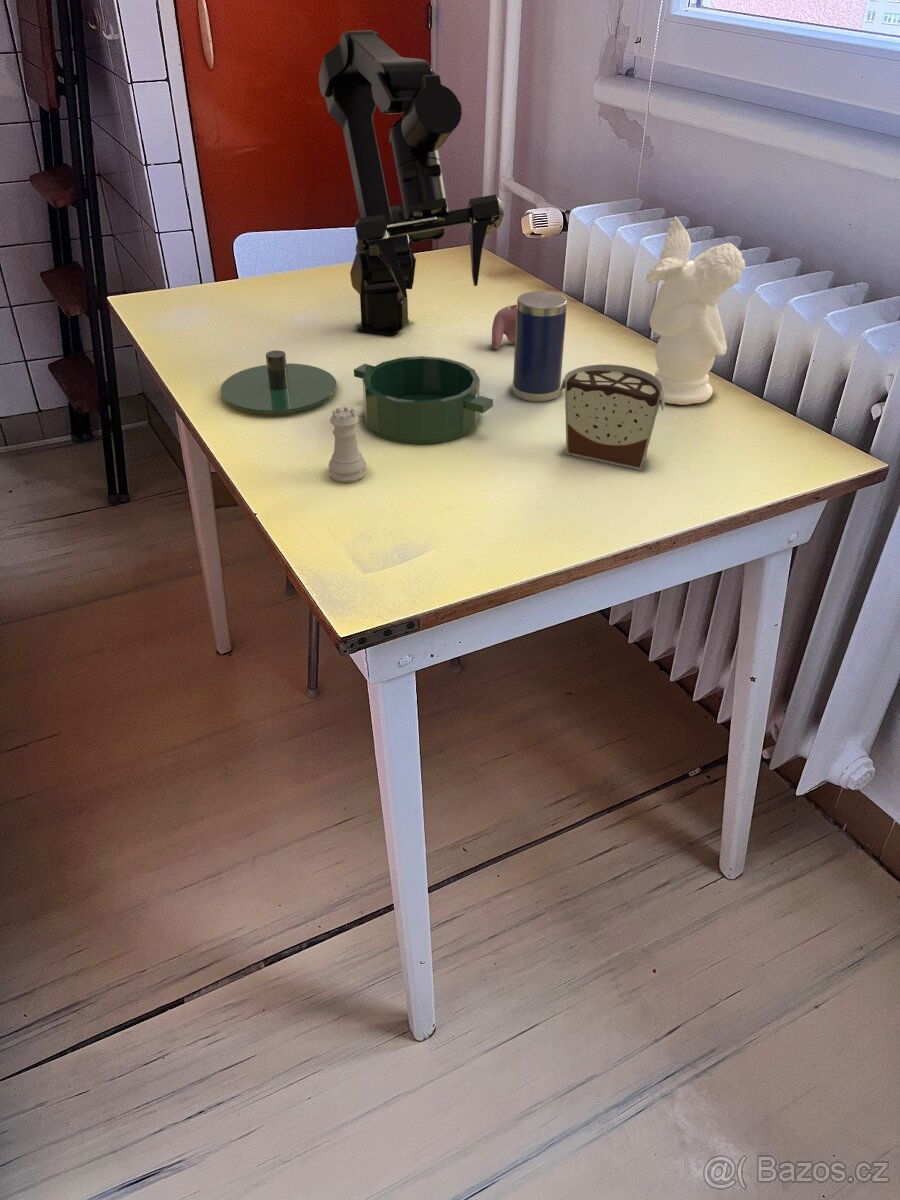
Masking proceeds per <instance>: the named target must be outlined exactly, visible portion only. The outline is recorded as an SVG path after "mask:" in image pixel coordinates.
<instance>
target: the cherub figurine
mask: <svg viewBox="0 0 900 1200" xmlns="http://www.w3.org/2000/svg"><path fill="white" fill-rule="evenodd" d="M669 226H670V227H668V228H667V230H666V231H667V235H666V236H665V242H664V243H663V248H661V250H660V254H659V259H658V262H657V263H656V264H655V265H654V267H653V269H650V270H649V273H647V274H646V276H645V278H646V280H645V281H646V282H647V284H650V285H654V284H656V282H660V281H664V282H663V283H662V284H661V286H660V288H659V289H658V292H657V295H656V299H655V302H654V306H653V308H652V311H651V314H650V317H649V327H650V329H651V330H652V331H653V333H655V334H656V335H659V336H660V337H659V339H658V341H657V343H656V347H655V353H654V358H655V363H656V366H657V370H656V371H655V372H654V376H655V377H656V378H657V379H658V380H659V381H660V382H661V384H662V388H663V391H664V400H665V404H671V405H674V404H675V405H679V406H684V405H686V406H687V405H692V404H701V403H704V402H706V401H708V400H709V399H710V398H711V397H712V395H713V393H714V389H713V387H712V385H711V384H710V383H709V381H710V375H709V372H711V370H712V368H713V366H714V363H715V359H716V356H725V355H726V353H727V351H728V346H727V341H726V336H725V331H724V327H723V323H722V319H721V315H720V312H719V309H718V307H717V304H718V303H719V302H720V301H721V299H722V296H723V294H725V293H726V292H728V290H729V289H730V288H732V287H734V286H735V285H737V284H738V283H739V282H740V280H741V278H742V277H741V276H742V274H743V271H744V270H745V269H746V260H745V259H743V253H742V252H741V251H740V249H739V248H737V247H736V245H734V244H733V243H731V242H727V243H722V244H719V245H717V246H711V247H710V248H709V249H706V250H705V251H704V252H702V253H700V254H699V255H697V256H696V257H695V259H693V258H690V255H691V249H692V241H691V238H690V235H689V232H688V231H687V229H686V228H685V227H684V225H683V224H682V222H681V221H680V220H679V218H678V217H677V216H676V215H675V216H674V218H673V221H670V222H669ZM689 259H690V260H689Z"/></svg>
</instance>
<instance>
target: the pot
mask: <svg viewBox="0 0 900 1200" xmlns="http://www.w3.org/2000/svg"><path fill="white" fill-rule="evenodd" d="M353 377H355V378H358V379H361V380H362V396H363V397H362V398H363V412H364V413H363V414H364V419H365V424H366V426H367V427H368V429H369V430H370V431H371V432H372V433H373V434H375V435H376V436H378V437H380V438H382V439H386V440H389V441H392V442H397V443H401V444H409V445H433V444H441V443H446V442H451V441H453V440H457V439H459V438H462V437H464V436H466V435H467V434H469V433H471V432H472V431H473V430H474V429H475V427H476V426H477V424H478V421H479V416H480V414H484V413H485V412H487V411H488V410H490V409H492V408H493V407H494V398H490V397H486V396H482V395H480V393H481V392H480V389H481V379H480V377H479V375H478V373H477V372H476V370H475V369H474V368H473V367H470V366H469V365H467V364H466V363H464V362H461V361H457V360H453V359H450V358H445V357H435V356H426V355H425V356H424V355H423V356H422V355H420V356H406V357H398V358H395V359H391V360H386V361H381V362H380V363H378V364H377V365H371V364H367V363H363V364H361V365H359V366H357V367H356V368H354V369H353Z"/></svg>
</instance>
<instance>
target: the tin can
mask: <svg viewBox="0 0 900 1200" xmlns="http://www.w3.org/2000/svg"><path fill="white" fill-rule="evenodd" d="M516 305H517V311H516V332H515V343H514V352H513V353H514V355H513V375H512V376H513V377H512V392H513V394H514V396H515V397H517V398H519V399H520V400H523V401H528V402H538V403H540V402H547V401H548V402H549V401H551V400H554V399H556V398H558V396H559V395H560V392H561V391H560V388H561V385H562V371H563V357H564V345H565V333H566V332H565V331H566V319H567V306H568V300H567V298H566V297H565V296H564V295H562V294H559V293H557V292H551V291H529V292H525V293H522V294H520V295H518V296H517V299H516Z"/></svg>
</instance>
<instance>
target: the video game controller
mask: <svg viewBox="0 0 900 1200" xmlns="http://www.w3.org/2000/svg"><path fill="white" fill-rule="evenodd" d="M516 311H517V304H513V305H507V306H503V307H502V308H501V309H500V310H498V311H497V313H496V314H495V315H494V318H493V321H492V327H491V344H492V348H493V349H494V350H495V351H496V350H498V349H499V348H500V346H501V345H502V342H503V339H504V338H503V337H504V336H505V337H506V338H507V341H508V342H509V343H511V344H515V332H516Z"/></svg>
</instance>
